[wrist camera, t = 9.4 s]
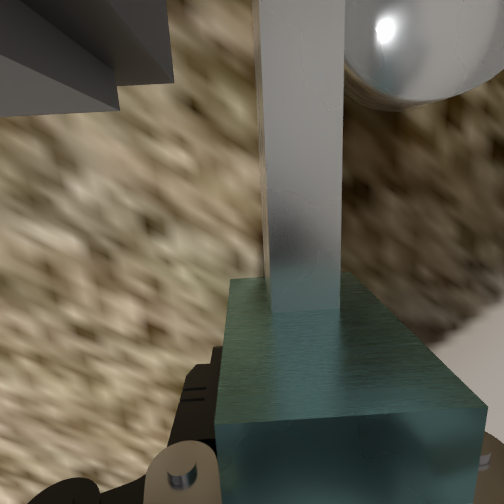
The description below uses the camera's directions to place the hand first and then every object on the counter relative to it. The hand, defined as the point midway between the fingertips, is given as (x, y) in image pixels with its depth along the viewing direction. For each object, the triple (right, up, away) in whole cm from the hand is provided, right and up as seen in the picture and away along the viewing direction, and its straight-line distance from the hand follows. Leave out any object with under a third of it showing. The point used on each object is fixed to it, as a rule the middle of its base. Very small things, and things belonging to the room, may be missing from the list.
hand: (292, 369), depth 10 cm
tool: (0, +5, -1) cm, 5 cm away
